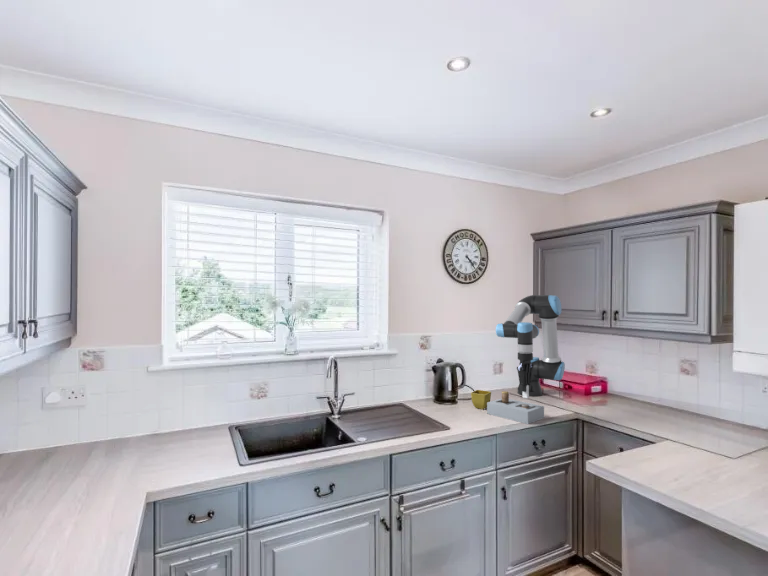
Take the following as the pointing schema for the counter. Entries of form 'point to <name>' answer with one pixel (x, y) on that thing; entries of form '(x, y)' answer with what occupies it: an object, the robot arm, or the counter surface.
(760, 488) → the counter surface
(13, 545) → the counter surface
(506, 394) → the peg brass cap
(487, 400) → the flower pot
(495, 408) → the socket block
